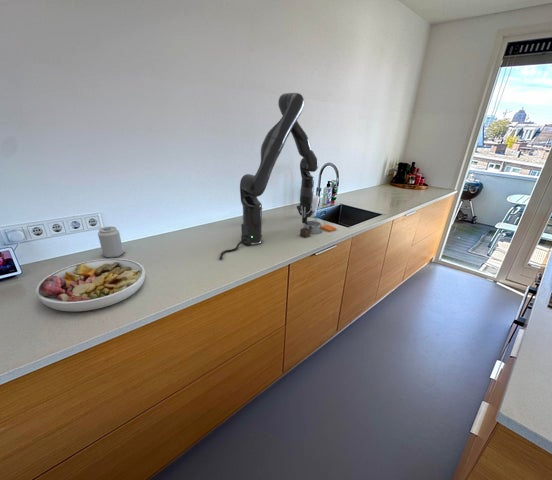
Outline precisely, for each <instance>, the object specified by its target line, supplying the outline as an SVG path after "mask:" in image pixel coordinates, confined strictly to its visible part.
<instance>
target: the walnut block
mask: <svg viewBox="0 0 552 480" xmlns="http://www.w3.org/2000/svg"><path fill="white" fill-rule="evenodd" d="M310 231H311V229H308V228H304V227H302V228H300V229H299V236H300V237H302V238H305V239H306V238H308V237H311V233H310Z"/></svg>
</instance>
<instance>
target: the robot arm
mask: <svg viewBox="0 0 552 480" xmlns="http://www.w3.org/2000/svg"><path fill="white" fill-rule="evenodd" d="M277 101H278V102H277V104H278V105H277V106H278V109H279V111H280V113H281V118H280V119H279V121H277V122H276V124H274V125H273V126H272V128H270V129H269V130H268V132H267V133H266V135H265V137H264V139H263V141H262V144H261V145H260V163H259V166H258V168H257V171H256V173H255V174H251V173H245V174H244V175H243V176H242V177H241V179H240V181H239V194H240V195H239V196H240V197H239V198H240V203H241V205H242V223H241V225H240V227H241V229H240V231H241V236H240V241H239V242H238V243H237V244H236V246H235V247H234V248H231V249H225V250H223V251H221V253H220V256H219V260H222V259H223V255H224V254H225V253H228V252H234V251H236V250H237V249H238V248H239V246H240V245H241V244H242V243H243V244H245V245H247V246H256V245H260V244H261V243H262V241H263V239H262V238H263V234H262V232H263V231H262V229H263V227H262V225H263V222H262V221H263V204H262V202H261V201H260V200H259V198H258V197H260V196H262V195H263V194H264V193H265V190H266V188H267V186H268V183H269V180H270V178H271V174H272V172H273V170H274V167H275V165H276V163H277V161H278V159H279V156H280V155H281V153H282V150H283V149H284V146H285V143H286V142H287V140H288V137H289V136H290V134H291V135H292V139H293V140H294V143H295V146H296V149H297V152H298V154H299V156H300V157H302V158H301V159H300V162H299V170H300V176H301V182H300V183H301V184H300V190H299V191H300V192H299V205H296V209H297V211H298V213H299V214H298V215H299V216H300V217H301V222H302V224H304V222H306V221H308V218H311V217H310V216H311V215H312V214H313V213H314V212H315V211H314V210H313V209H312V202H313V195H314V188H315V187H314V185H315V177H314V176H313V175H312V174H311V173H314V172H316V171H318V168H319V160H318V157H317V156H316V154H315V152H314V151H313V148H312V146H311V143H310V139H309V137H308V135H307V133H306V132H305V130H304V129H303V127H302V126H301V125H300V123H299V121H298V120H299V118H300V116H301V115H302V112H303V110H304V107H305V98H304V97H303V95H302V94H301V93H299V92H286V93H283V94H281V95H280V96H279V98H278V100H277Z"/></svg>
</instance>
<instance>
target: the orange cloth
mask: <svg viewBox="0 0 552 480" xmlns="http://www.w3.org/2000/svg"><path fill="white" fill-rule="evenodd" d="M321 230H323V231H326V232H328V233H329V232H333V231H336V230H337V228H336V227H334V226H332V225H329V224H325V225H321Z"/></svg>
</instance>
